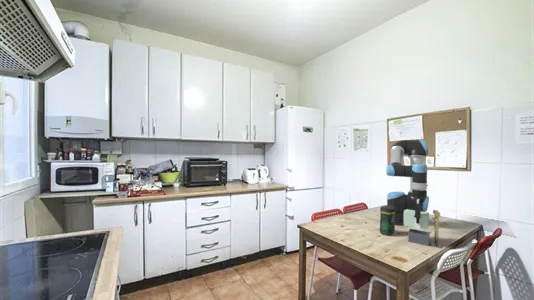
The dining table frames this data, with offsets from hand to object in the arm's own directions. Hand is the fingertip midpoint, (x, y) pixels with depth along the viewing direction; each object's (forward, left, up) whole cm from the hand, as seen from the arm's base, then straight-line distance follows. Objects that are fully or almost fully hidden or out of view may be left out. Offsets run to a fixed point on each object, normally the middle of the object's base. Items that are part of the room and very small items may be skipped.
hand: (419, 226), depth 139 cm
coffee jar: (-18, +3, -10) cm, 21 cm away
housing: (+3, 0, -9) cm, 10 cm away
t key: (+8, 0, -8) cm, 12 cm away
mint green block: (-1, 0, 0) cm, 2 cm away
